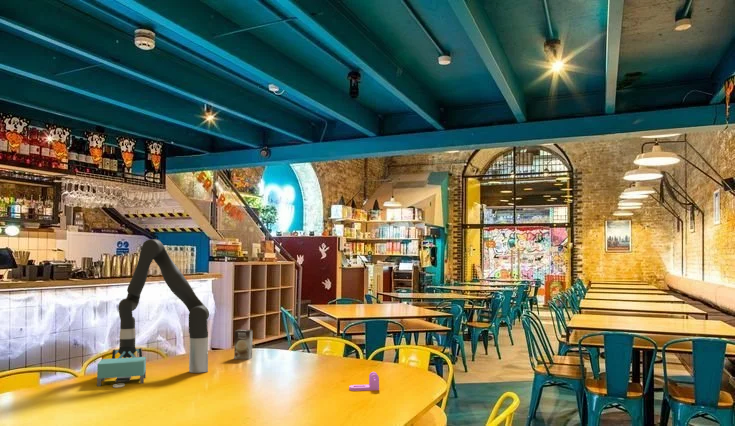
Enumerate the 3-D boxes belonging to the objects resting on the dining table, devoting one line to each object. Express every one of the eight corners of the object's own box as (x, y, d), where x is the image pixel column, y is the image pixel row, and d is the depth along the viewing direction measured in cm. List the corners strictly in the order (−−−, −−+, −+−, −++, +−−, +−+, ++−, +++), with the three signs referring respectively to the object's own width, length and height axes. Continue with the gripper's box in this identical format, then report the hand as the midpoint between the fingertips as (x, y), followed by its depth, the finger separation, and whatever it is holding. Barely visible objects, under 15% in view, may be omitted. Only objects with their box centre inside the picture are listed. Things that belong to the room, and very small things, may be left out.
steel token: (125, 385, 274) (125, 383, 275) (123, 388, 270) (123, 385, 270) (114, 386, 274) (114, 383, 274) (111, 388, 269) (111, 386, 269)
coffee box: (233, 359, 337) (233, 330, 338) (237, 357, 344) (237, 329, 345) (249, 359, 336) (249, 330, 337) (252, 357, 343) (252, 329, 344)
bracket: (377, 387, 267) (377, 371, 267) (379, 390, 261) (378, 374, 262) (348, 388, 266) (348, 372, 266) (349, 391, 260) (349, 375, 260)
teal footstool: (145, 377, 291) (145, 356, 291) (143, 383, 278) (143, 361, 279) (101, 380, 285) (101, 359, 286) (97, 386, 272) (97, 364, 273)
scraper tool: (122, 370, 307) (122, 359, 307) (134, 370, 309) (134, 358, 309) (115, 382, 280) (115, 369, 280) (129, 381, 282) (129, 368, 282)
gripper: (142, 335, 309) (142, 367, 308) (113, 337, 305) (112, 369, 304) (141, 337, 302) (141, 370, 301) (111, 339, 298) (110, 371, 297)
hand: (126, 369), depth 302 cm, fingers open, 8 cm apart
